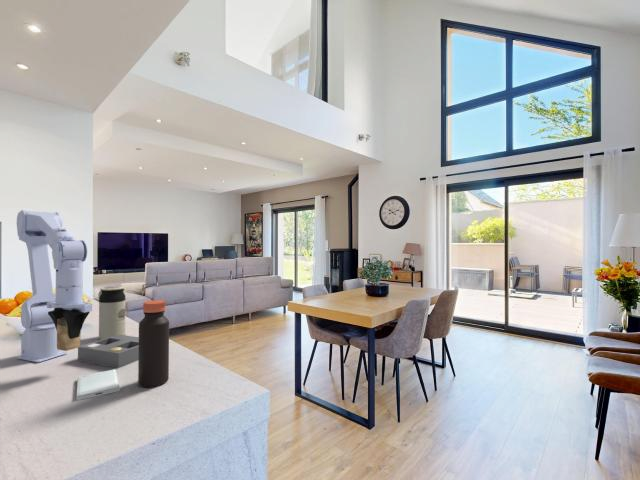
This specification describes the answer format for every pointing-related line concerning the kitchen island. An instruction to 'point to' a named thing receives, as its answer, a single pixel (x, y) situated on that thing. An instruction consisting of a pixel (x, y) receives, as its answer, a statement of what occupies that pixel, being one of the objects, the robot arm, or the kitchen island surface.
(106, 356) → the socket block
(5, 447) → the kitchen island surface
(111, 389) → the hard drive
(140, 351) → the bottle
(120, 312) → the travel mug
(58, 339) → the plug
